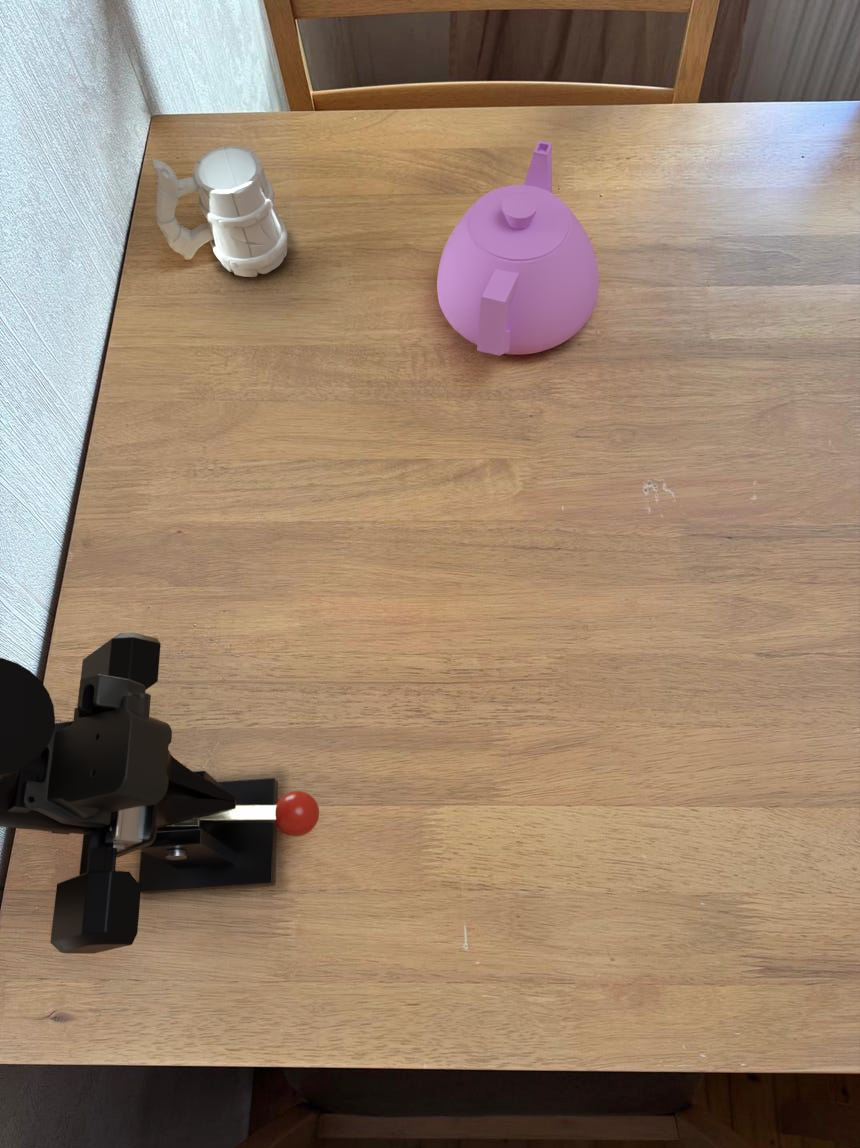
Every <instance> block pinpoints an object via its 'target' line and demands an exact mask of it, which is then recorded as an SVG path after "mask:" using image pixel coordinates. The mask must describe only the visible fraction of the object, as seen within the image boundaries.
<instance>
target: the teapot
mask: <svg viewBox="0 0 860 1148" xmlns="http://www.w3.org/2000/svg"><path fill="white" fill-rule="evenodd" d="M437 270H438V271H437V280H436V291H437V300H438V304H439V307H440V309H441V311H442V314H443V316H444V317H445V319H446V321H447V322H448V323H449V325H450V326H451V327H452V328H453V329H454V331H455V332H457V334H459V335H460V336H462V337H463V338H464V339H465V340H467V341H469V342H470V343H472V344H474V345H476V350H477V351H478V352H482V353H485V354H486V353H487V354H491V355H496V356H499V357H500V356H502V355H504V354H505V355H521V356H522V355H531V354H535V353H536V354H537V353H541V352H544V351H547V350H550V349H552V348H555V347H558V346H559V345H561V344H563V343H565V342H566V341H568V340H569V339H572V337H573V336H575V335H576V334H578V332H580V330H582V328H583V327H584V326H585V325H586V323H587V322H588V321H589V319H590V317H591V316H592V315H593V314H592V313H593V312H594V310H595V307H596V304H597V302H598V301H597V300H598V296H599V288H600V287H599V286H600V285H599V284H600V283H599V282H600V281H599V278H600V277H599V269H598V263H597V258H596V253H595V250H594V248H593V245H592V243H591V239H590V237H589V236H588V233H587V231H586V230H585V228H584V227H583V225H582V224H581V222H580V220H578V218H577V217H576V215H575V214H574V213H573V211H572V210H571V209H570V208H569V206H568V205H567V204H565V203H564V202H563V200H562V199H560V197H558V196H557V195H556V194H554V193H553V142H549V141H545V140H540V139H538V140H537V143H536V145H535V147H534V150H533V154H532V158H531V160H530V164H529V167H528V170H527V173H526V176H525V179H524V182H523V184H512V185H506V186H502V187H501V186H500V187H498V188H495V189H493V190H491V191H489V192H486V193H485V194H484V195H481V197H479V198H478V199H477V200H476V201H475V202H474V203H472V205H471V206H470V207H469V208H468V209H467V210H466V212H465V213H464V214H463V216H462V217H461V218H460V219H459V220H458V222H457V224H456V225H455V226H454V228H453V230H452V232H451V233H450V234H449V236H448V239H447V241H446V243H445V245H444V248H443V250H442V253H441V257H440V260H439V266H438V269H437Z"/></svg>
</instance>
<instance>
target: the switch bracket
mask: <svg viewBox="0 0 860 1148" xmlns="http://www.w3.org/2000/svg"><path fill="white" fill-rule="evenodd" d="M192 771H193V770H192ZM193 772H195V773H196V774H197V775H200V776H201V777H203V778H205V779H207V780H208V781H210V782H212V783H214V784H215V785H217V786H219V787H221V788H222V789H224V790H226V791H228V792H229V793H231V794H233V795H234V796H236V802H235V803H236V805H276V804H277V802H278V795H279V794H278V793H279V792H278V791H279V790H278V787H279V783H278V780H277V779H276V778H275V777H269V778H254V779H253V778H252V779H239V780H238V779H237V780H223V781H217V780H216V779H215V778H214V777H213V776H212V775H210V774H209V773H208V772H207V771H206V770H194V771H193ZM277 832H278V827H277V826H276V824H275V823H200V829H193V830H178V831H163V832H157V835H156V838H155V841H154V842H153V843H152V844H151V845H149V846H147V847H144V848H141V849H139V851H140V858H139V859H140V862H139V874H138V883H139V884H140V886H141V894H142V895H149V894H161V893H162V894H164V893H176V892H177V893H179V892H192V891H209V890H221V889H235V888H251V887H252V888H253V887H265V886H276V879H277V878H276V877H277V837H278V836H277V834H278V833H277Z"/></svg>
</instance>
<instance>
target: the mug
mask: <svg viewBox="0 0 860 1148" xmlns="http://www.w3.org/2000/svg"><path fill="white" fill-rule="evenodd" d="M151 163H152V168H153V171H154V172H155V175H156V182H155V184H156V217H155V218H156V223H157V225H158V227H159V229H160V230H161V232H162V233H163V236H164V238H165V241H166V242H167V245H168V246H169V247H170V248H171V249H172V251H174V252H175V253H179V254H180V255H181V256H182V257H183V258H184V259H185V260H191V259H192V258H194V256H195V254H196V252H197V251H198V250H199V248H201V247H202V246H204V245H205V244H207V243H208V242H209V243H210V247H211V248H212V251H213V253H214V255H215V257H216V259H218V261H219V262H220V263H221V265H222V266H223V267H224V269H226V270H227V271H228V272H230V273H234V275H235V276H239V277H244V278H255V277H258V274H262V275H266V274H268V273H270V272H272V271H273V270H275V269H277V268H278V267H279V266H280V265H281V264H282V263H283V262H284V258H286V256H287V255H288V254H287V253H288V239H289V237H288V230H287V227H286V226H285V222H284V221H283V219H282V218H281V217H280V216H279V214H278V211H277V207H276V205H275V195H276V192H275V190H274V187H273V185H272V184H271V182H270V180H269V179H268V178H267V177H266V173H265V170H264V167H263V164H262V161H261V160H260V158H259V156H258V155H257V154H256V153H255V152H254V151H253V150H251V148H248V147H246V146H242V145H235V144H228V145H227V144H226V145H225V146H221V145H220V146H217V147H214V148H212V149H210V150H209V151H207V152H206V153H204V154H203V155H201V156H200V158H199V159H198V160H197V161H196V164H195V165H194V168H193V176H190V177H189V176H188V177H184V178H180V179H178V177H177V175H176V173H175V171H174V170H173V168H171V166H169V165H168V164H166V163H165V162H164V161H162V160H159V159H157V158H153V159H152V160H151ZM197 193H198V205H199V209H200V211H201V212H202V214H203V216H204V217H205V219H206V220H207V221H205V222H203V223H201V224H200V225H198V226H196V227H194V228H193V229H192V230H190V229H189V228H187V227H184V226H183V225H182V224H180V223H179V221H178V219H177V217H176V213H175V211H176V208H177V206H178V203H179V201H180V197H182V196H185V195H190V194H197Z"/></svg>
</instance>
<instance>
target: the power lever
mask: <svg viewBox="0 0 860 1148" xmlns="http://www.w3.org/2000/svg"><path fill="white" fill-rule="evenodd" d="M319 818H320V807H319V805H318V802H317V801H316V799H315V798H314V797H313V796H312V795H311V794H310V793H308V792H305V791H302V790H292V791H289V792H287V793H285V794H284V795H282V796H281V797H280V798H279V799H277V804H276V805H236V808H235V809H233V810H230V811H227V812H223V813H218V814H214V815H210V816H206V817H201V818H197V819H193V820H189V821H184V822H180V823H176V824H172V825H168V826H164V827H161V828H158V829H157V832H163V831H178V830H193V829H200V823H275V824H276V826H277V829H278V830H279V832H281V833H283V834H284V835H285V836H288V837H302V836H305V835H307V834H309V833H310V832H312V830H313V829H314V828H315V827H316V826H317V824H318V822H319Z"/></svg>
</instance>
